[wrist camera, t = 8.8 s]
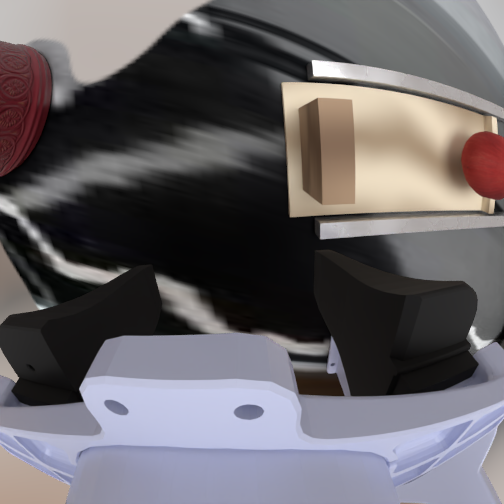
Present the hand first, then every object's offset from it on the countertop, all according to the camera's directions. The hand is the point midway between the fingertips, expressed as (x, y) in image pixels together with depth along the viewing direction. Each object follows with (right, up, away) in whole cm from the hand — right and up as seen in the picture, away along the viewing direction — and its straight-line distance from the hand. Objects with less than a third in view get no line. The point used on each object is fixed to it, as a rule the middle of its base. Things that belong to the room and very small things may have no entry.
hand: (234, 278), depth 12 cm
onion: (+20, +10, +7) cm, 24 cm away
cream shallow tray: (+14, +9, +7) cm, 18 cm away
